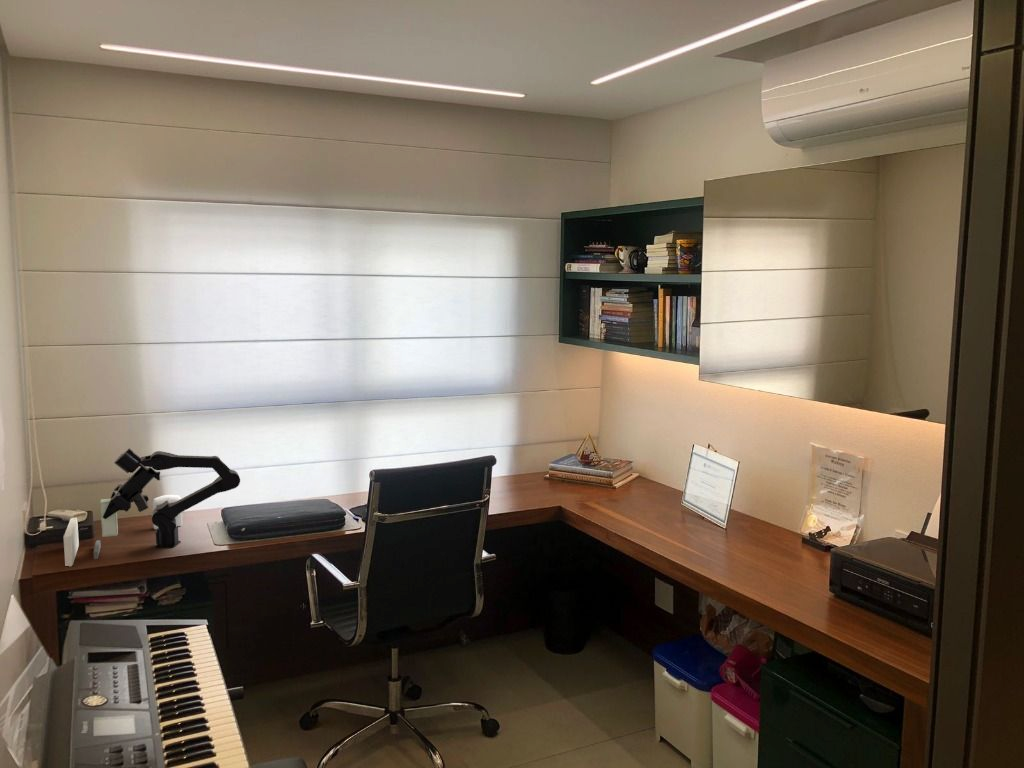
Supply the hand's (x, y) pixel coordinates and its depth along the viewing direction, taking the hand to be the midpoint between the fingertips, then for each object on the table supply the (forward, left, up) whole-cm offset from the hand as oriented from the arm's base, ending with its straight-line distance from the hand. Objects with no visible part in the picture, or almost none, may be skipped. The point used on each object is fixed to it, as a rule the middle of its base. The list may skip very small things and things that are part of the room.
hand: (104, 516), depth 282 cm
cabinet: (-1, -1, -7) cm, 7 cm away
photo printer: (-8, -30, -13) cm, 34 cm away
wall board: (+6, +3, -13) cm, 14 cm away
